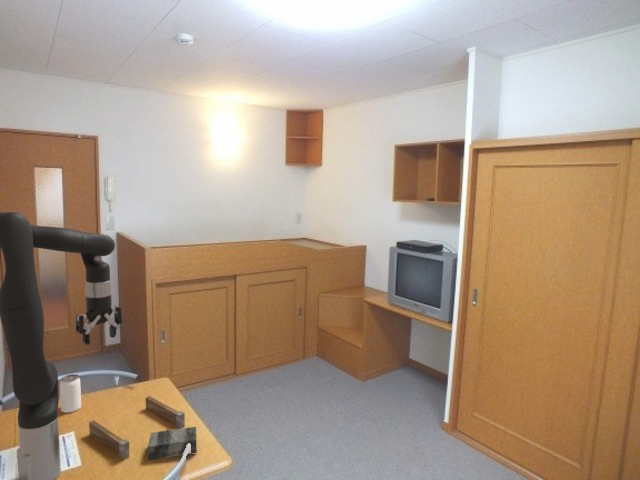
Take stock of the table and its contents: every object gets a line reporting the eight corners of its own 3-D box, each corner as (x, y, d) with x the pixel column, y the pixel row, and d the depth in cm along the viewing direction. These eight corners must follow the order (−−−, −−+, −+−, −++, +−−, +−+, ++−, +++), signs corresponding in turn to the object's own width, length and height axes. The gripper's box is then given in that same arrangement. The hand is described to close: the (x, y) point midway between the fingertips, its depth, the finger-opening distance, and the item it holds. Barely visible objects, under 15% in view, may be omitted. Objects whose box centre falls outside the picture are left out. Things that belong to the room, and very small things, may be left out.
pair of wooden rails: (123, 459, 127) (122, 444, 127) (88, 435, 138) (88, 421, 138) (184, 426, 146) (184, 412, 145) (150, 407, 157) (149, 394, 156)
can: (56, 411, 152) (55, 380, 150) (71, 402, 158) (70, 372, 156) (70, 415, 150) (69, 383, 148) (85, 406, 156) (84, 375, 154)
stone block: (151, 443, 136) (151, 428, 135) (197, 438, 140) (197, 423, 139) (147, 461, 127) (147, 445, 127) (196, 455, 131) (196, 439, 131)
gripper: (82, 300, 131) (84, 349, 133) (125, 291, 143) (126, 337, 145) (70, 295, 135) (72, 343, 137) (113, 287, 147) (114, 332, 149)
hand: (100, 340), depth 141 cm, fingers open, 8 cm apart
